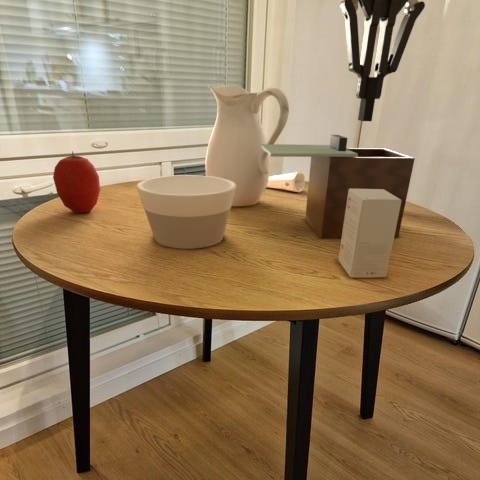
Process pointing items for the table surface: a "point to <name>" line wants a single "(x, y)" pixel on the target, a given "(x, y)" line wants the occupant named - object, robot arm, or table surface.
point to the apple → (77, 183)
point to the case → (353, 185)
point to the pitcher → (242, 141)
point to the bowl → (187, 209)
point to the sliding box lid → (311, 149)
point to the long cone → (287, 182)
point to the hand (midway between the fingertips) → (364, 120)
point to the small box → (368, 232)
